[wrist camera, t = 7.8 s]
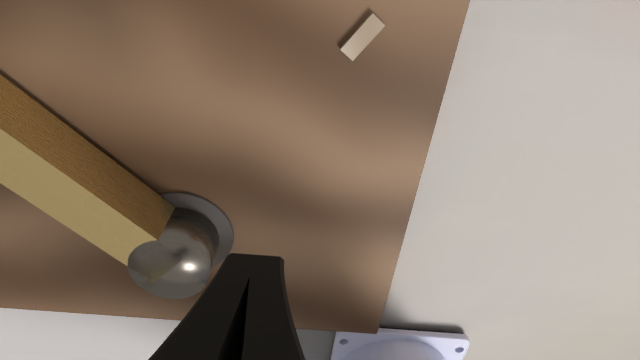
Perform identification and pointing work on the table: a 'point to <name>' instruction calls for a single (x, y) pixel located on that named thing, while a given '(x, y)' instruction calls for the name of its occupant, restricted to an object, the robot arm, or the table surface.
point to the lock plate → (235, 139)
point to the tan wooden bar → (102, 200)
